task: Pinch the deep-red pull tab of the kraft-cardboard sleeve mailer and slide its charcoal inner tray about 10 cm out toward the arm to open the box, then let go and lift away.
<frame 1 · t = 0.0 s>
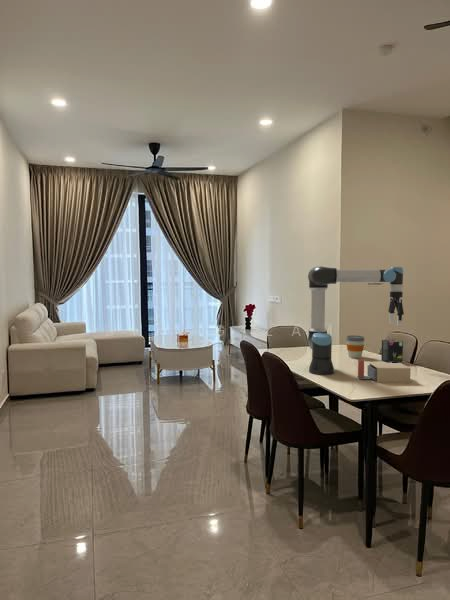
hand: (395, 324, 281), 28 cm above the table, fingers open, 13 cm apart
reusable coffee cup: (355, 357, 321), on the table
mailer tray: (379, 368, 252), point 6 cm above the table, slide at 0.0 cm
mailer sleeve: (389, 379, 252), on the table
tampon box: (391, 361, 304), on the table
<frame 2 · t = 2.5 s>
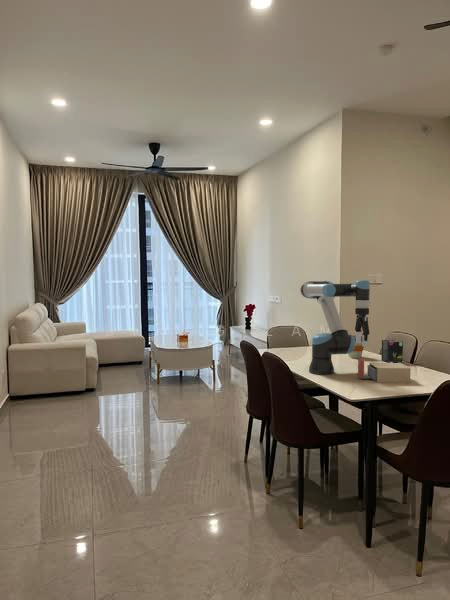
hand: (361, 344, 251), 20 cm above the table, fingers open, 13 cm apart
nothing on the table moved.
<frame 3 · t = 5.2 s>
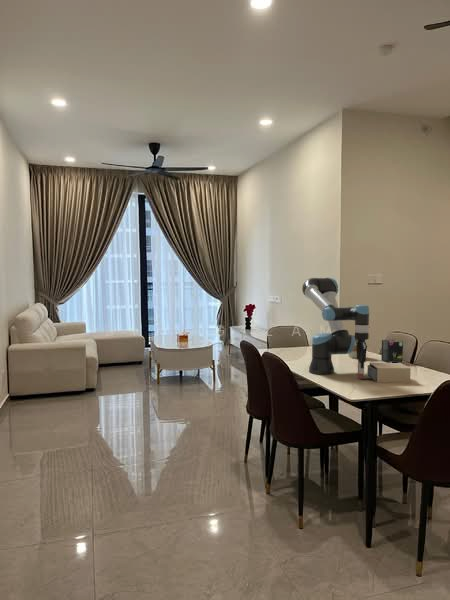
hand: (361, 373, 252), 3 cm above the table, fingers closed on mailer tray, 2 cm apart
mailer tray: (379, 368, 252), point 6 cm above the table, slide at 0.0 cm, touching gripper
everything else where it was.
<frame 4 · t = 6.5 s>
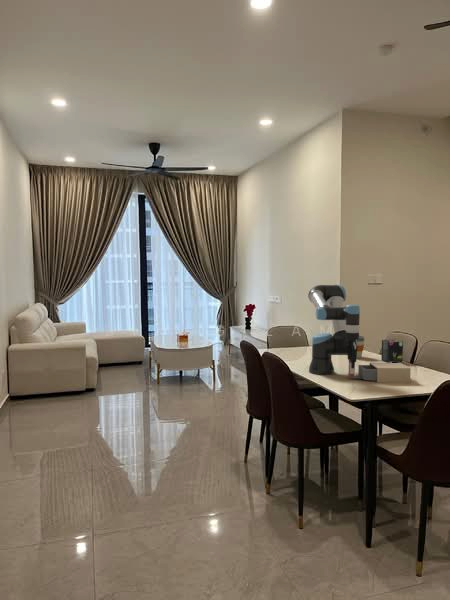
hand: (351, 373, 252), 3 cm above the table, fingers closed on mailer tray, 2 cm apart
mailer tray: (370, 368, 252), point 6 cm above the table, slide at 5.3 cm, touching gripper
everything else where it was.
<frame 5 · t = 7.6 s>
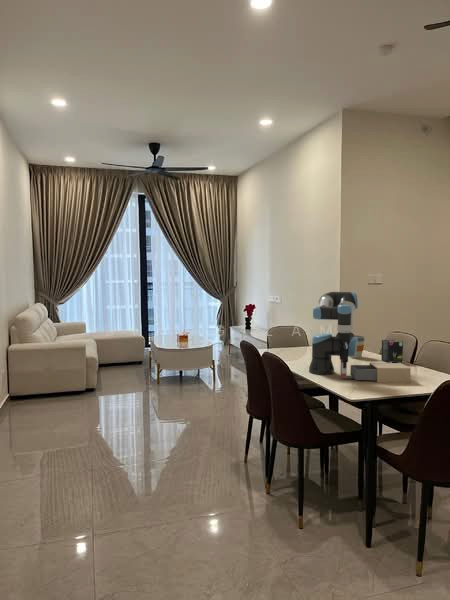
hand: (343, 372, 252), 3 cm above the table, fingers closed on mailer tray, 2 cm apart
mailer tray: (362, 368, 252), point 6 cm above the table, slide at 9.9 cm, touching gripper
everything else where it was.
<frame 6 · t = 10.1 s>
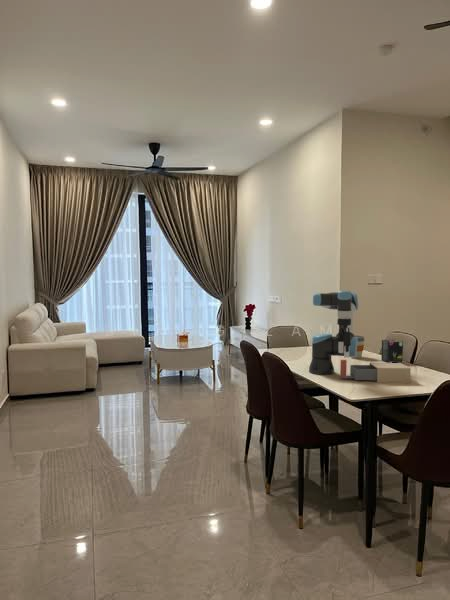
hand: (343, 355, 252), 14 cm above the table, fingers open, 13 cm apart
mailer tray: (361, 368, 252), point 6 cm above the table, slide at 10.0 cm
everything else where it was.
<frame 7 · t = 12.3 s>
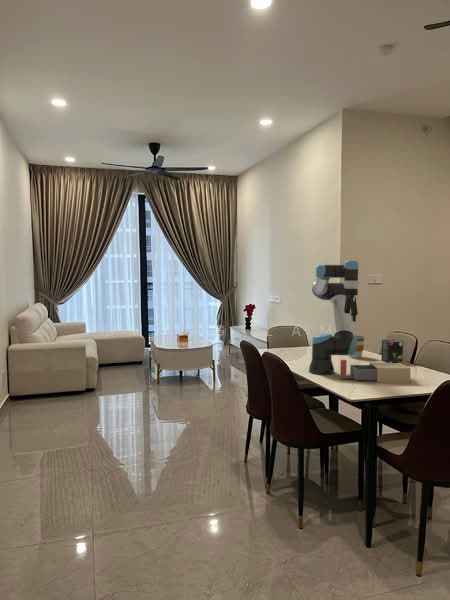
hand: (350, 326, 249), 31 cm above the table, fingers open, 13 cm apart
nothing on the table moved.
at the end: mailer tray slide at 10.0 cm; the gripper is holding nothing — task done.
